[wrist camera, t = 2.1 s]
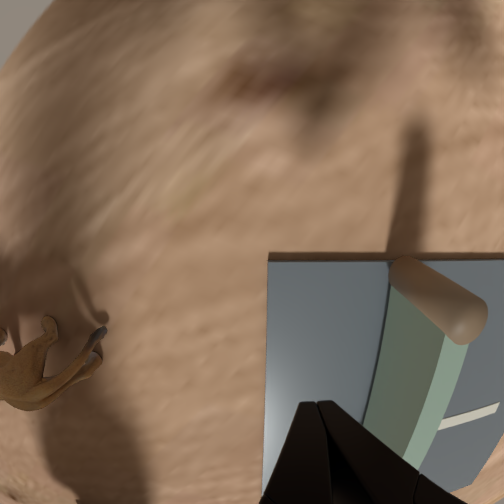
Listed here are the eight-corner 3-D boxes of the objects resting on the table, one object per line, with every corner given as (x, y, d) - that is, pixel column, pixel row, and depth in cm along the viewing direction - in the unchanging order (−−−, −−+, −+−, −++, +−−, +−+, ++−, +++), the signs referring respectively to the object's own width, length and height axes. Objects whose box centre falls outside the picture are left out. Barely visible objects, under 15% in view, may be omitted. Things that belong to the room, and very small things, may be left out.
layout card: (470, 482, 19) (471, 484, 18) (260, 523, 19) (260, 526, 18) (561, 257, 14) (564, 259, 13) (267, 260, 14) (268, 262, 13)
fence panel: (375, 451, 16) (399, 515, 11) (350, 455, 16) (370, 521, 11) (421, 255, 13) (492, 295, 8) (390, 255, 13) (455, 299, 8)
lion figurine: (7, 387, 16) (-48, 445, 9) (-24, 335, 15) (-89, 384, 8) (128, 357, 15) (67, 456, 8) (89, 282, 14) (-6, 354, 7)
